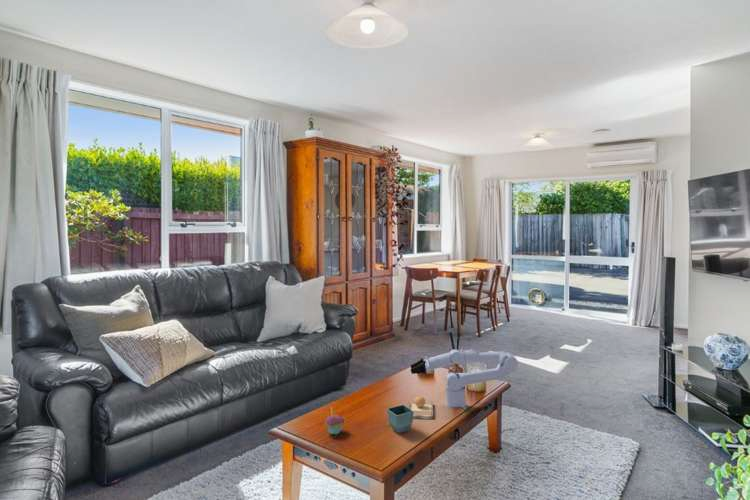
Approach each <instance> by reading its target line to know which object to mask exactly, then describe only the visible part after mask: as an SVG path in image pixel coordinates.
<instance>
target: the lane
mask: <svg viewBox="0 0 750 500" xmlns="http://www.w3.org/2000/svg"><path fill="white" fill-rule="evenodd" d="M409 409H411V410H413V411H417V412H419V411H420V412H431V403H430V404H427V403H425V405H424V406H423V407H417V406H416V404H415V403H410V405H409Z"/></svg>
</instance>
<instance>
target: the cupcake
mask: <svg viewBox="0 0 750 500" xmlns="http://www.w3.org/2000/svg"><path fill="white" fill-rule="evenodd" d="M344 425H345V419H344V417H343V416H341V415H339V414H334V411H333V407H330V415H329V416H327V417H326V418H325V419H324V426H325V427H326V428H327V429H328V430H327V431H328V434H330V435H333V434H335V435H339V434H340V433H341V431H342V428H343V426H344ZM338 433H339V434H338Z"/></svg>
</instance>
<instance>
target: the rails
mask: <svg viewBox="0 0 750 500" xmlns="http://www.w3.org/2000/svg"><path fill="white" fill-rule="evenodd" d="M410 404H411V403H410V401H409V400H407V406H406V407H408V408H409V405H410ZM430 404H431V411H430V413H431V414H430V415H429V414H413V420H414V419H415V420H416V419H417V420H419V419H420V420H422V419H423V420H434V410H433V409H434V407H433V405H434V403H433V401H431V402H430Z"/></svg>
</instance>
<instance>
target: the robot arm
mask: <svg viewBox="0 0 750 500" xmlns="http://www.w3.org/2000/svg"><path fill="white" fill-rule="evenodd" d="M478 361H496V362H498V364H497V366H496V367H494V368H490V369H489V368H488V369H483V370H477V371H473V372H472V371H471V372H466V373H463V372H454V371H453V372H452V371H451V372H448V373H447V374H446V376H445V381H446V383H447V385H446V386H445V405H446V406H447V407H450V408H462V410H463V411H466V405H467V400H466V389H465V387H466V386H468V385H471V384H477V383H485V382H490V381H494V380H501V379H505V377H507V376H508V375H509V374H511V373H512V372H515V370H516V369H517V367H518V364H519V361H518V360H517V358H516V357H515V356H514V355H513V353H512V352H510V351H503V350H502V351H501V350H500V351H485V352H477V350H475V349H473V348H470V349H468V350H466V349H465V350H463V349H460V350H458V349H453V348H452V349H451V350H450V351H449V352H446V353H441V354H439V355H434V356H432V357H428V356H425V359H424V358H423V357H421V358H420V359H419V360H417V361H416V362H415V363H414V362H413V364H411V365H410V373H411V374H412V375H416V374H422V375H423V374H424V375H427V372H428V371H429V372H431V371H433V370H437V369H440V368H443V367H447V366H449V365H453V364H454V365H460V364H462V363H463V364H464V363H466V364H467V363H469V364H470V363H477V362H478Z"/></svg>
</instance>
